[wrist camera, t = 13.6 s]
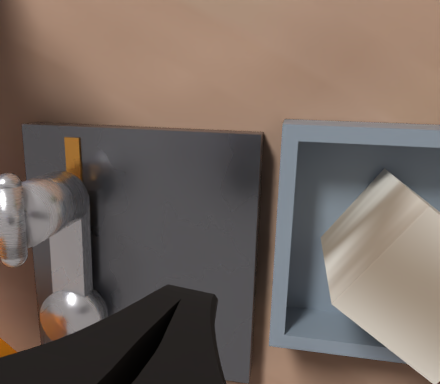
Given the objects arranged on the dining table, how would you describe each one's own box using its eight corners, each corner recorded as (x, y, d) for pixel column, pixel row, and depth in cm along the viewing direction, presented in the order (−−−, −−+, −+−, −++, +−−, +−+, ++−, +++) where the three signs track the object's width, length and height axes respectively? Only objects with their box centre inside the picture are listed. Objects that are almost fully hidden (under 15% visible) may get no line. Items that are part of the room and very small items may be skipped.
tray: (285, 118, 18) (282, 124, 15) (518, 127, 16) (565, 135, 14) (272, 309, 20) (268, 346, 17) (477, 333, 19) (510, 377, 16)
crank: (108, 341, 20) (54, 413, 16) (53, 333, 21) (-15, 400, 16) (103, 157, 18) (38, 179, 14) (41, 152, 19) (-42, 172, 14)
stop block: (391, 293, 18) (434, 385, 12) (320, 237, 18) (331, 304, 12) (460, 227, 17) (542, 296, 11) (384, 168, 17) (429, 206, 11)
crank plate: (37, 122, 20) (20, 124, 19) (263, 132, 18) (261, 134, 17) (54, 340, 23) (40, 354, 22) (251, 367, 21) (248, 385, 20)
